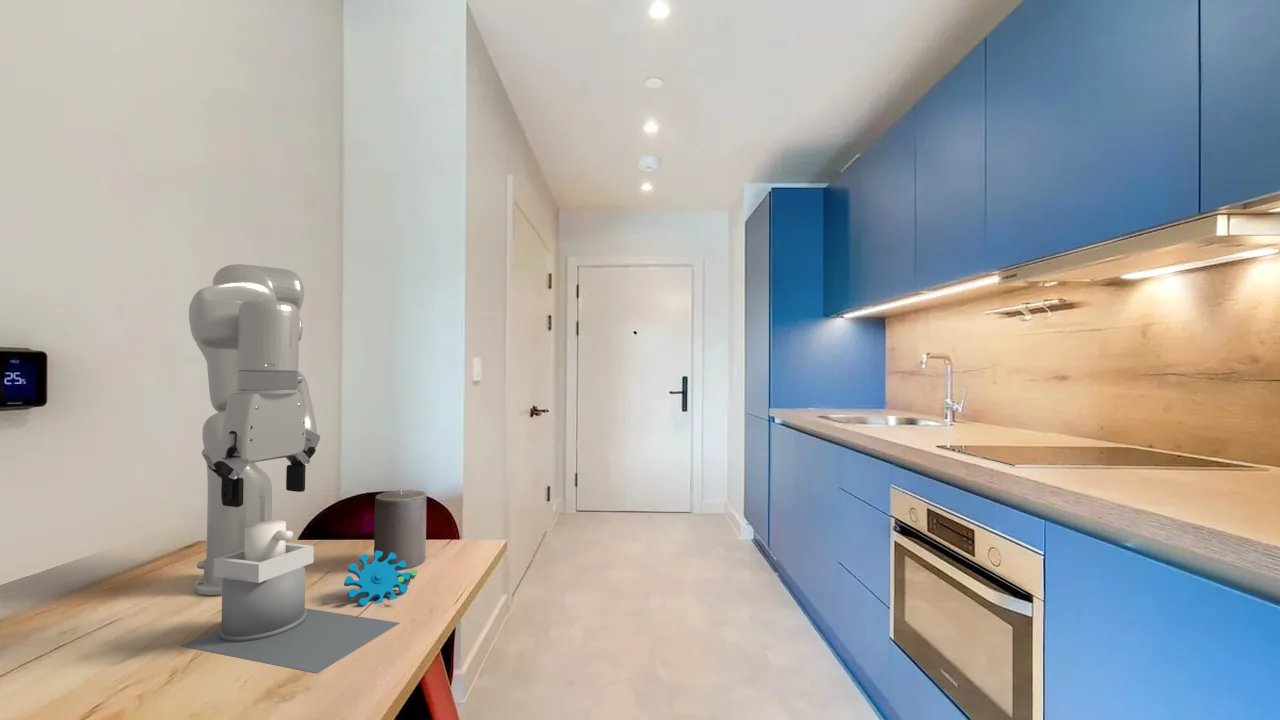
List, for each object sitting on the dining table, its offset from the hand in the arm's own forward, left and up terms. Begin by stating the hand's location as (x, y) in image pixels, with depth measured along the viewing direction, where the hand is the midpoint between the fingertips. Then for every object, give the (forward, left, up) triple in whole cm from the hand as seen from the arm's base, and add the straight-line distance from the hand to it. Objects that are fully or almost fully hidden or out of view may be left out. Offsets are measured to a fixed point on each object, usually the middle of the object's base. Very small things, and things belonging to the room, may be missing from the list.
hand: (265, 498), depth 80 cm
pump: (0, 0, -10) cm, 10 cm away
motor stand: (+8, -1, -19) cm, 21 cm away
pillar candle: (-1, +30, -20) cm, 36 cm away
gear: (+9, +13, -20) cm, 25 cm away
